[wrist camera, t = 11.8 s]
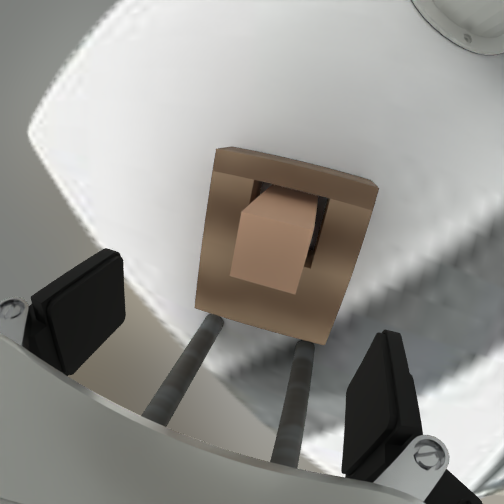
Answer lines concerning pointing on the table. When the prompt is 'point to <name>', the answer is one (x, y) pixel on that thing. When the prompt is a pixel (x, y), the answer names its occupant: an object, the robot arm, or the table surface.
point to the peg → (275, 238)
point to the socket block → (265, 298)
